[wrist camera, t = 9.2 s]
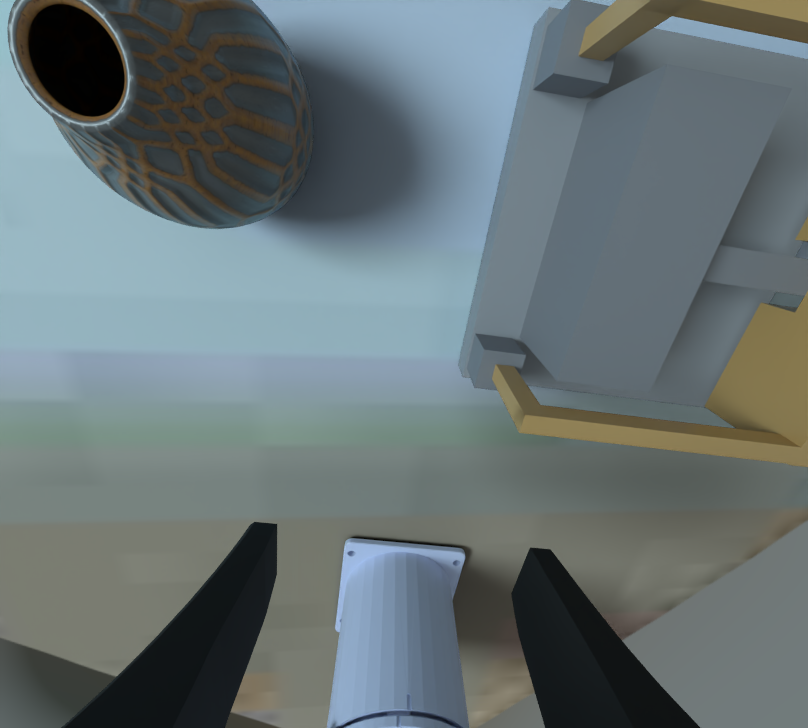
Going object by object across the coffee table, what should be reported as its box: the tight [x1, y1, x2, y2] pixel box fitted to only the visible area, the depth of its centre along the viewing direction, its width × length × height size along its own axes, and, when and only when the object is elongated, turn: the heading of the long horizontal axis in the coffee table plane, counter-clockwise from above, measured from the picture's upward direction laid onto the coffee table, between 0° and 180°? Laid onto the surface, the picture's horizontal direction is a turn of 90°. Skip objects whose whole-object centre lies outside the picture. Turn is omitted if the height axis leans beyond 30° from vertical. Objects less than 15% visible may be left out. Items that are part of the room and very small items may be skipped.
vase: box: [8, 0, 314, 229], centre depth 11 cm, size 7×7×9 cm
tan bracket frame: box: [492, 0, 808, 467], centre depth 12 cm, size 11×12×4 cm
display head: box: [458, 0, 808, 408], centre depth 15 cm, size 13×14×6 cm
